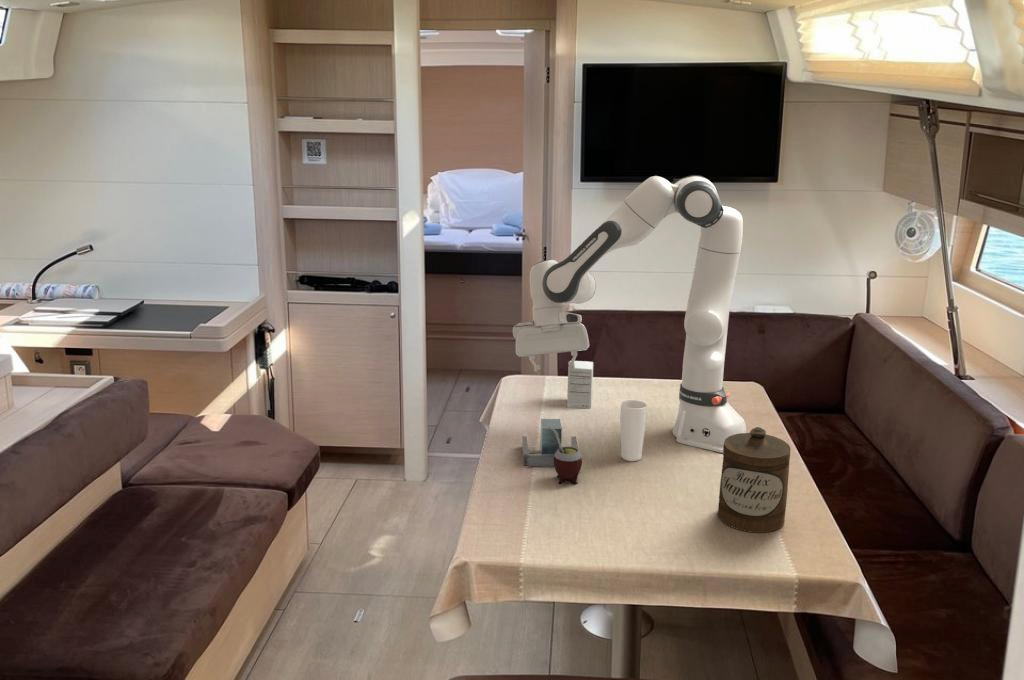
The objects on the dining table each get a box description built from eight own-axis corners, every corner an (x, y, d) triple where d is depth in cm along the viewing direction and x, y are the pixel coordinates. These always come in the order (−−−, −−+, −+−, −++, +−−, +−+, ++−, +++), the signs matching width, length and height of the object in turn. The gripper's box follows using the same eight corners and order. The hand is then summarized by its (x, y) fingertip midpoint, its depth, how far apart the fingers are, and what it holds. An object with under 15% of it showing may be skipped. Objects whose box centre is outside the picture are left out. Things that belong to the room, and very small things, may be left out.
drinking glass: (647, 455, 252) (650, 402, 248) (639, 465, 246) (642, 410, 242) (623, 451, 255) (625, 398, 250) (614, 460, 249) (617, 406, 245)
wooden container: (712, 526, 214) (720, 434, 208) (723, 499, 228) (730, 412, 221) (780, 538, 209) (790, 445, 203) (787, 510, 222) (796, 421, 216)
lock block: (540, 449, 255) (540, 417, 253) (558, 449, 255) (559, 417, 253) (541, 461, 248) (542, 428, 245) (560, 461, 248) (561, 428, 245)
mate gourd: (587, 480, 237) (589, 423, 232) (566, 490, 231) (568, 432, 227) (564, 471, 242) (565, 416, 237) (543, 480, 236) (544, 424, 232)
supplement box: (568, 399, 293) (569, 360, 290) (592, 400, 292) (594, 361, 289) (566, 407, 286) (567, 367, 283) (591, 409, 285) (592, 368, 282)
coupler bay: (522, 446, 257) (522, 436, 256) (575, 446, 257) (575, 436, 256) (523, 466, 244) (523, 455, 243) (579, 466, 244) (580, 455, 244)
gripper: (512, 322, 259) (517, 373, 257) (587, 315, 260) (592, 365, 259) (511, 324, 265) (516, 374, 264) (583, 317, 266) (589, 367, 265)
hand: (554, 369), depth 261 cm, fingers open, 8 cm apart
